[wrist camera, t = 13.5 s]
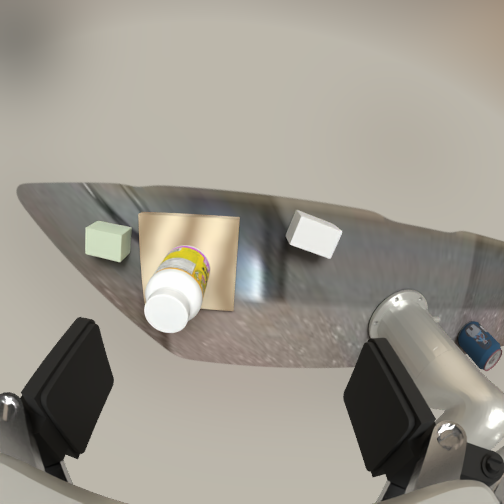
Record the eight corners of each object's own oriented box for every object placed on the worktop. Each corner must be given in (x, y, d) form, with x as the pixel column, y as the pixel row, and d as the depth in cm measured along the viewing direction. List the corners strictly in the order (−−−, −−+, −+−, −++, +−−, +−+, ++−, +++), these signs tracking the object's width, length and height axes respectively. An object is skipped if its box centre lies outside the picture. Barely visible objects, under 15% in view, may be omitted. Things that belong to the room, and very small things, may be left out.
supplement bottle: (204, 292, 40) (190, 348, 28) (161, 278, 39) (132, 330, 27) (216, 251, 38) (204, 298, 26) (170, 237, 37) (139, 277, 25)
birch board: (239, 217, 38) (239, 219, 36) (233, 305, 43) (233, 311, 41) (142, 211, 37) (138, 214, 36) (147, 298, 42) (144, 302, 40)
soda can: (464, 345, 49) (489, 374, 38) (451, 340, 48) (478, 372, 37) (479, 322, 47) (507, 349, 36) (468, 316, 46) (498, 345, 35)
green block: (132, 227, 38) (121, 235, 34) (130, 252, 39) (120, 262, 36) (98, 220, 37) (85, 227, 34) (97, 244, 39) (85, 253, 35)
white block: (333, 224, 39) (342, 231, 35) (322, 248, 40) (330, 258, 36) (295, 209, 38) (301, 215, 34) (285, 235, 39) (289, 244, 35)
